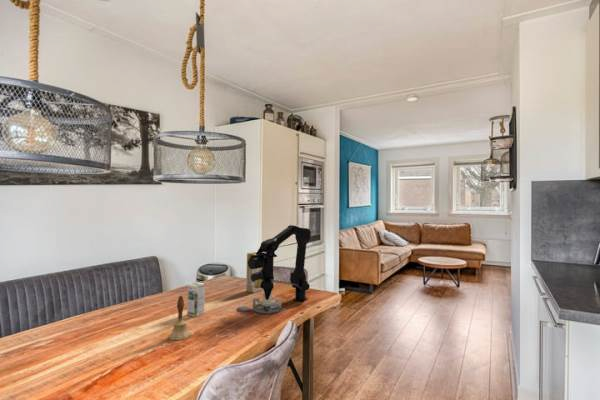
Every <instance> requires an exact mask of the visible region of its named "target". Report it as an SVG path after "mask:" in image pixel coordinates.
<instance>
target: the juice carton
mask: <svg viewBox="0 0 600 400" xmlns="http://www.w3.org/2000/svg"><path fill="white" fill-rule="evenodd" d="M257 251H258V250H255V251H252V252H248V253H246V275H245V276H246V280H245V281H246V285H245V286H246V287H245V291H246V292H249V293H257V292H260V291H263V289H262V288H260V284H261V282H262V280H261V279H259V280H256V281H255V282H252V280H251V277H250V276H251V274H253V273H256V272H259V271H261V270H262V268H257V269H250V268H249V266H248V260H249V258H250V257H251V255H256V253H257Z"/></svg>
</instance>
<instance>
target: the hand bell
mask: <svg viewBox="0 0 600 400" xmlns="http://www.w3.org/2000/svg"><path fill="white" fill-rule="evenodd" d="M176 306H177V307H176V308H177V312H178V313H177V314H178V315H177V321H175V322H174V323H173V328H172V329H173V330H172V332H171V333H170V334H169V336H168V339H169V340H171V341H182V340H186V339H189V338H190V337H191V335H192V333H191V332H190V331H189V329H188V328H187V327H188V326H187V322H186V320H183V319H184V318H183V311H184V307H185V299H184V297H183V295H179V296H178V299H177V304H176Z"/></svg>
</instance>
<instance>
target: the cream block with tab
mask: <svg viewBox="0 0 600 400" xmlns="http://www.w3.org/2000/svg"><path fill="white" fill-rule="evenodd" d="M272 293H273V291H272V292H271V294H270V296H269V299H268V300H266V297H265V292H264V290H263V289H262V299H260V301H256V304H263V305H271V304H278V301H275V299H273V297H272V295H273V294H272ZM272 299H273V300H272Z"/></svg>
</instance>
